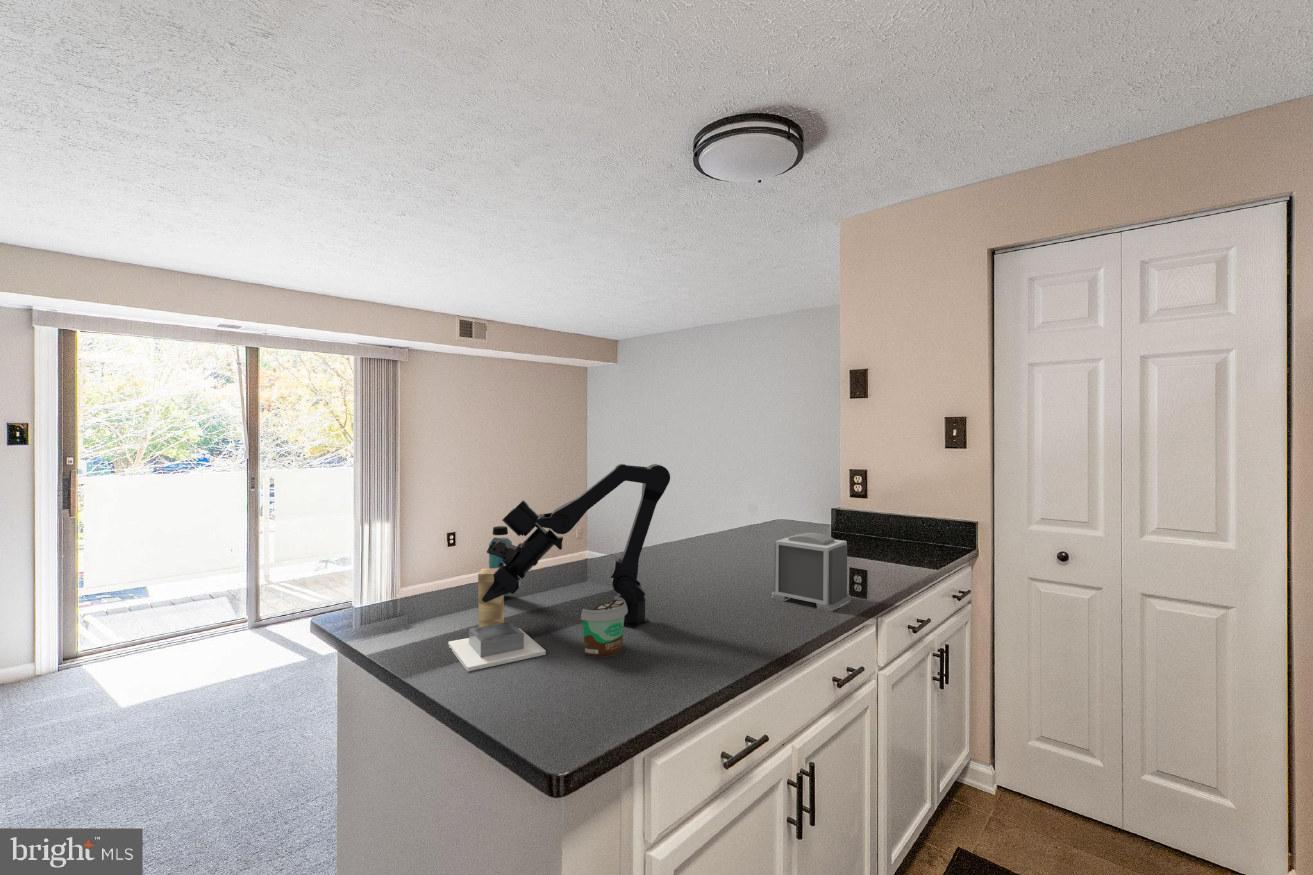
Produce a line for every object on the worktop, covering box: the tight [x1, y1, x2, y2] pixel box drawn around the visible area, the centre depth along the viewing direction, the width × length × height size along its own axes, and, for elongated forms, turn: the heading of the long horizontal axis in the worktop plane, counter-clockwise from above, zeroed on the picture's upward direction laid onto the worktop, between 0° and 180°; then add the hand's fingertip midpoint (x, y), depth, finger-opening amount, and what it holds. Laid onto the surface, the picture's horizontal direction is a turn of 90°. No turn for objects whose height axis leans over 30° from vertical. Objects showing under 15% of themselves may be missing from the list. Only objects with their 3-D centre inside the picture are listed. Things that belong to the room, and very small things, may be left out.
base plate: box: [447, 627, 547, 673], centre depth 121 cm, size 16×16×1 cm
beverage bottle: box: [488, 525, 513, 596], centre depth 159 cm, size 6×7×20 cm
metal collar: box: [468, 621, 524, 658], centre depth 121 cm, size 9×9×3 cm
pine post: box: [477, 568, 505, 627], centre depth 135 cm, size 5×5×13 cm
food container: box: [580, 595, 628, 658], centre depth 121 cm, size 12×6×10 cm, turn 148°
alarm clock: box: [771, 532, 852, 608], centre depth 159 cm, size 18×13×18 cm
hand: (485, 597), depth 135 cm, fingers closed on pine post, 5 cm apart
